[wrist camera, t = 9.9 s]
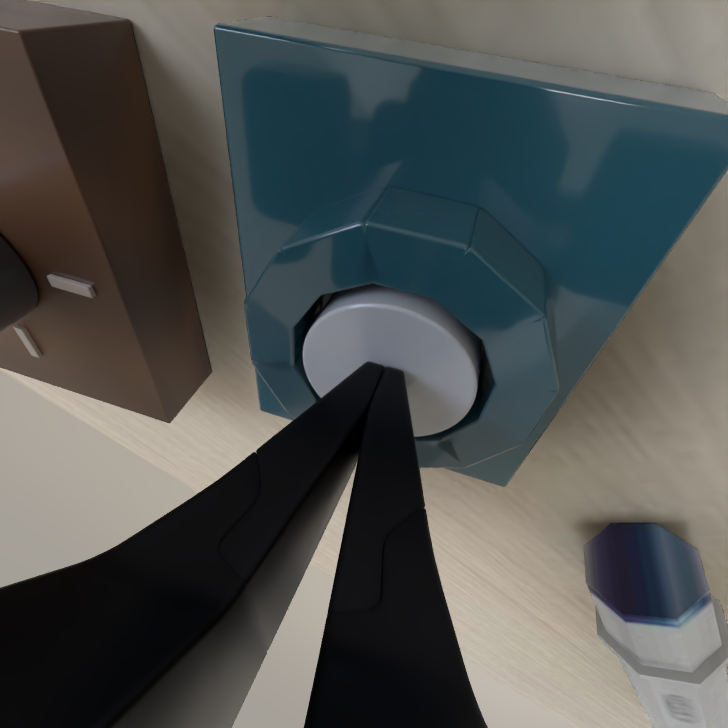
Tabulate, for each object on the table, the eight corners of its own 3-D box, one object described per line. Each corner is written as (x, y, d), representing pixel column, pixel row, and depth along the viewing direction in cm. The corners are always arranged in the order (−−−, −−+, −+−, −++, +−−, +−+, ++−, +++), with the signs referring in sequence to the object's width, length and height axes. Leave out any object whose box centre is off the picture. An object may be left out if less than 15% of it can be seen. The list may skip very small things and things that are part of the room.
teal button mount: (267, 15, 9) (142, 32, 6) (717, 92, 8) (825, 159, 5) (284, 370, 16) (234, 450, 14) (508, 437, 15) (502, 540, 12)
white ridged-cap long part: (756, 638, 12) (801, 904, 21) (697, 469, 17) (754, 744, 26) (564, 616, 15) (678, 860, 24) (562, 477, 20) (656, 723, 29)
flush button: (331, 242, 9) (300, 282, 8) (509, 286, 9) (505, 336, 7) (324, 366, 12) (301, 410, 11) (458, 405, 11) (450, 456, 10)
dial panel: (-198, -41, 11) (-382, -46, 9) (130, 19, 10) (10, 30, 7) (21, 314, 19) (-45, 357, 17) (212, 372, 18) (167, 427, 16)
